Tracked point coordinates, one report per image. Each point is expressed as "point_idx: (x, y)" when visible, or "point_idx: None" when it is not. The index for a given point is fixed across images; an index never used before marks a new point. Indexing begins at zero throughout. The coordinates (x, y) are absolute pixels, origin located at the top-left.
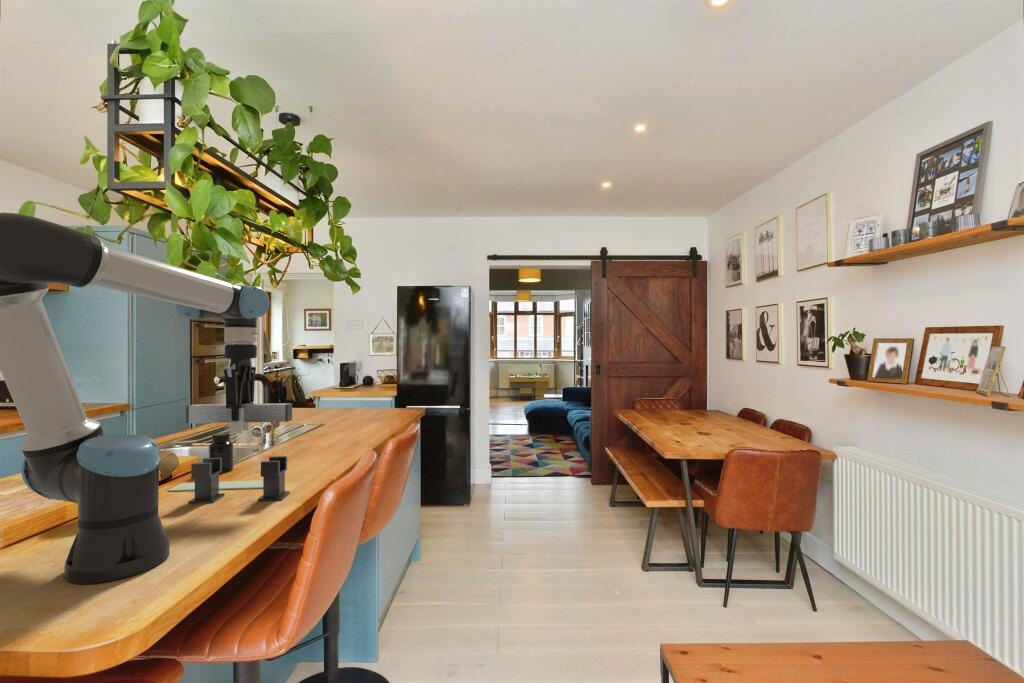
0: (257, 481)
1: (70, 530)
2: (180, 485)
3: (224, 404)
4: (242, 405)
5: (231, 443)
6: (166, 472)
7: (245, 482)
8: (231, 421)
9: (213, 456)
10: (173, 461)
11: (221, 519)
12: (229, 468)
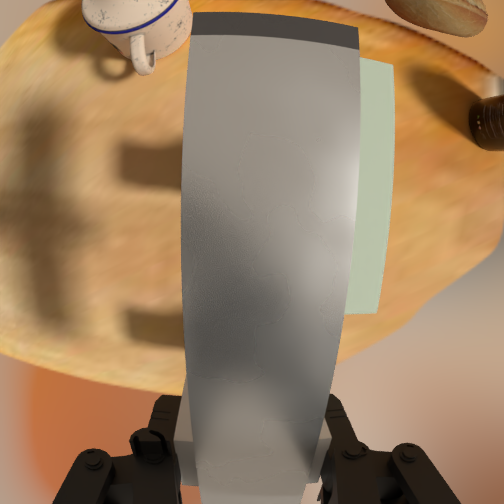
0: (377, 256)
1: (84, 24)
2: (371, 67)
3: (286, 384)
4: (202, 498)
5: None
6: (417, 21)
7: (375, 228)
8: (184, 384)
9: (495, 108)
10: (451, 24)
11: (98, 284)
12: (483, 146)
